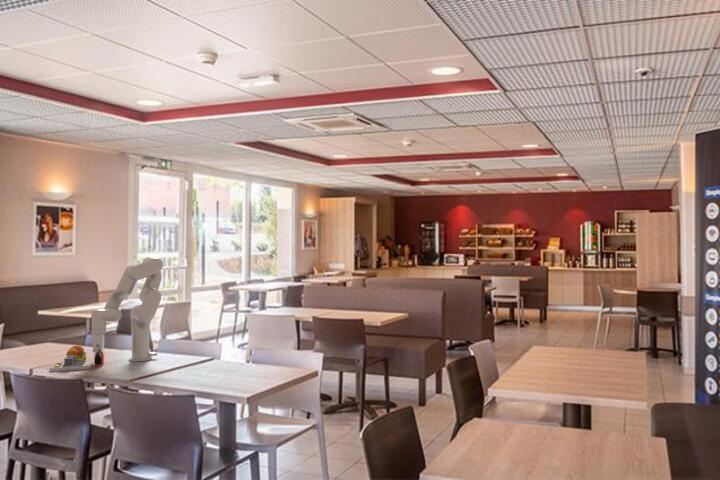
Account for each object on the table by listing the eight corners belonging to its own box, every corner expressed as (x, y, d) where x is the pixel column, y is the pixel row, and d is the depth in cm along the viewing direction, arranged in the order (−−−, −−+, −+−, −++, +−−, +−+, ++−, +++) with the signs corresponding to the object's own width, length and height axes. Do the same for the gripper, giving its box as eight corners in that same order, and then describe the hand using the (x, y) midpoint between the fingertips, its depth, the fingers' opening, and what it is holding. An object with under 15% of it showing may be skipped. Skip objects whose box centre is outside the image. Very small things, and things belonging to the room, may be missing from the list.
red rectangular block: (104, 364, 343) (104, 353, 343) (103, 365, 339) (103, 354, 338) (95, 364, 342) (95, 353, 342) (94, 366, 337) (94, 355, 337)
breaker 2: (76, 362, 337) (76, 355, 337) (75, 363, 333) (74, 356, 333) (68, 362, 335) (68, 355, 335) (67, 364, 332) (66, 356, 332)
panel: (93, 364, 340) (93, 359, 340) (90, 369, 329) (90, 363, 329) (54, 367, 335) (54, 361, 335) (49, 371, 323) (49, 366, 323)
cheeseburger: (90, 359, 356) (88, 343, 354) (81, 367, 346) (78, 351, 343) (74, 358, 357) (72, 342, 354) (64, 366, 347) (61, 350, 344)
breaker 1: (73, 364, 331) (73, 357, 331) (72, 365, 327) (72, 358, 327) (65, 365, 330) (65, 357, 330) (64, 366, 326) (64, 358, 326)
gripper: (94, 329, 347) (94, 360, 347) (89, 334, 331) (89, 366, 331) (108, 328, 349) (108, 359, 349) (104, 333, 333) (104, 365, 333)
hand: (99, 362), depth 340 cm, fingers open, 7 cm apart
